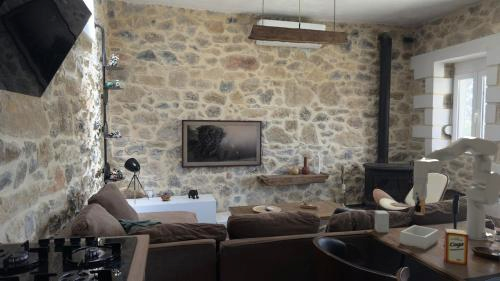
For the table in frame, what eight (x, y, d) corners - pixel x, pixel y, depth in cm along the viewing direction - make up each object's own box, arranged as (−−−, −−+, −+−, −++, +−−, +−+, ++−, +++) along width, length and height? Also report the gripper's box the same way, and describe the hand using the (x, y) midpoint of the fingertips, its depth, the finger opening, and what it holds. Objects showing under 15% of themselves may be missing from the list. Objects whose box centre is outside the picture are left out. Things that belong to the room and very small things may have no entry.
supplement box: (385, 229, 230) (385, 210, 229) (389, 232, 222) (389, 213, 222) (374, 229, 231) (374, 210, 230) (377, 232, 223) (377, 213, 223)
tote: (414, 236, 216) (414, 225, 216) (438, 241, 206) (438, 230, 205) (400, 243, 202) (400, 231, 202) (425, 249, 192) (425, 237, 192)
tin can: (425, 214, 203) (426, 197, 203) (422, 215, 200) (422, 198, 199) (417, 212, 207) (417, 196, 206) (413, 213, 203) (414, 197, 203)
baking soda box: (465, 260, 177) (465, 230, 176) (467, 265, 171) (468, 233, 170) (444, 257, 180) (444, 228, 180) (445, 262, 174) (446, 231, 174)
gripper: (419, 178, 211) (419, 207, 212) (408, 181, 199) (407, 212, 200) (432, 179, 205) (432, 209, 206) (421, 183, 194) (420, 214, 195)
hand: (419, 210), depth 203 cm, fingers closed on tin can, 5 cm apart
